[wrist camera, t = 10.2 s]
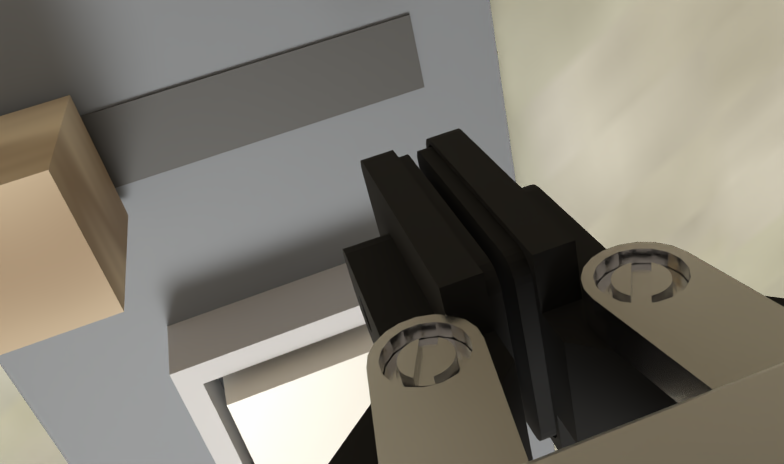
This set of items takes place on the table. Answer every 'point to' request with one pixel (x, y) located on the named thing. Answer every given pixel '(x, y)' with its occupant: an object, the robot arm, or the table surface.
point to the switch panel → (231, 189)
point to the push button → (302, 399)
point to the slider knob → (56, 227)
